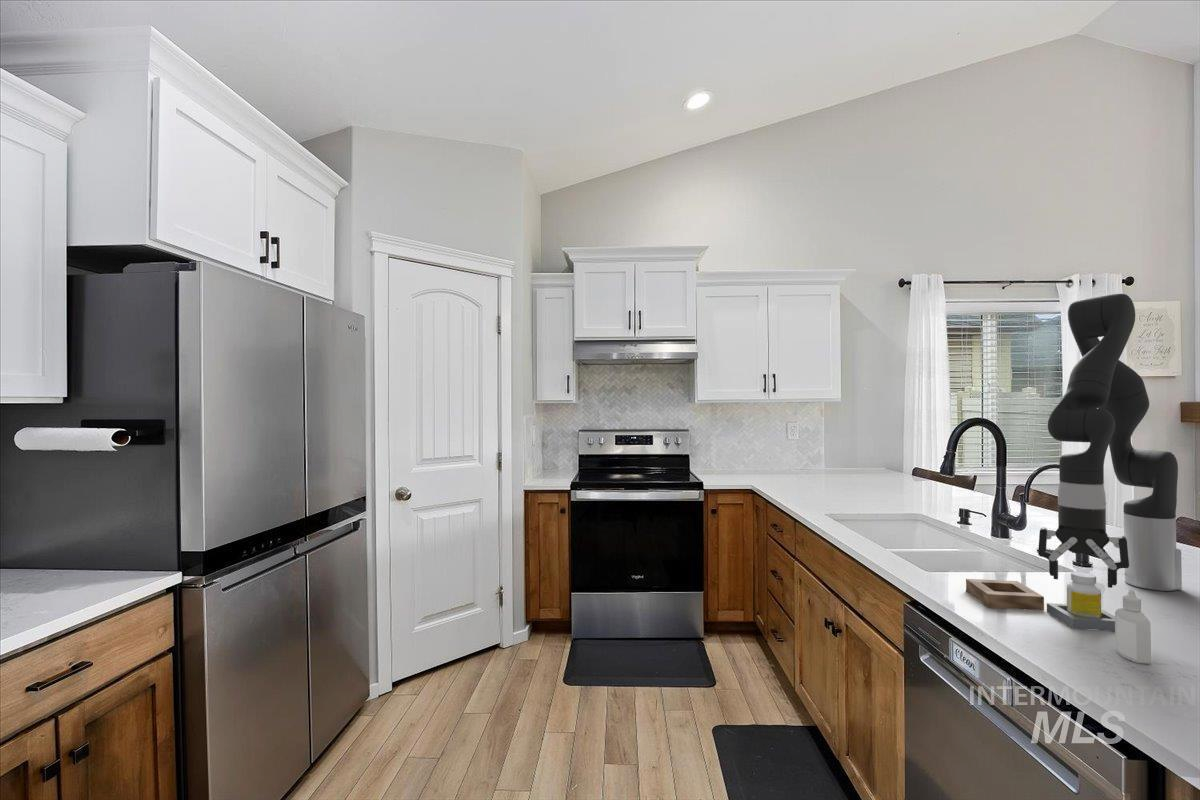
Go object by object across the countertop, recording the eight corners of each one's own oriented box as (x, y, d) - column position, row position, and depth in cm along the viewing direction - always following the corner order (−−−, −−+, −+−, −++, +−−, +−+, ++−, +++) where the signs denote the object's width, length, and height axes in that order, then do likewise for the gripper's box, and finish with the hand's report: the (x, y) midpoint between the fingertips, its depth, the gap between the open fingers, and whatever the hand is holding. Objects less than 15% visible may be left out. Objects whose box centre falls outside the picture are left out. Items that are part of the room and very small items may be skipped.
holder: (1094, 614, 120) (1094, 605, 120) (1124, 631, 112) (1124, 621, 112) (1046, 612, 122) (1046, 603, 122) (1072, 628, 113) (1072, 618, 113)
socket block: (1017, 593, 134) (1017, 581, 134) (1044, 610, 123) (1043, 596, 123) (966, 591, 136) (966, 578, 136) (988, 607, 125) (987, 594, 125)
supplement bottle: (1108, 627, 114) (1107, 579, 114) (1077, 625, 115) (1076, 577, 115) (1090, 617, 119) (1089, 571, 119) (1061, 615, 120) (1060, 569, 120)
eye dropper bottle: (1118, 660, 100) (1116, 592, 100) (1114, 648, 104) (1113, 583, 104) (1152, 666, 97) (1151, 597, 97) (1147, 655, 102) (1146, 588, 102)
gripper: (1127, 505, 115) (1128, 585, 115) (1039, 498, 125) (1040, 571, 124) (1129, 511, 110) (1130, 594, 109) (1036, 502, 119) (1037, 579, 119)
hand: (1082, 582), depth 117 cm, fingers open, 8 cm apart
